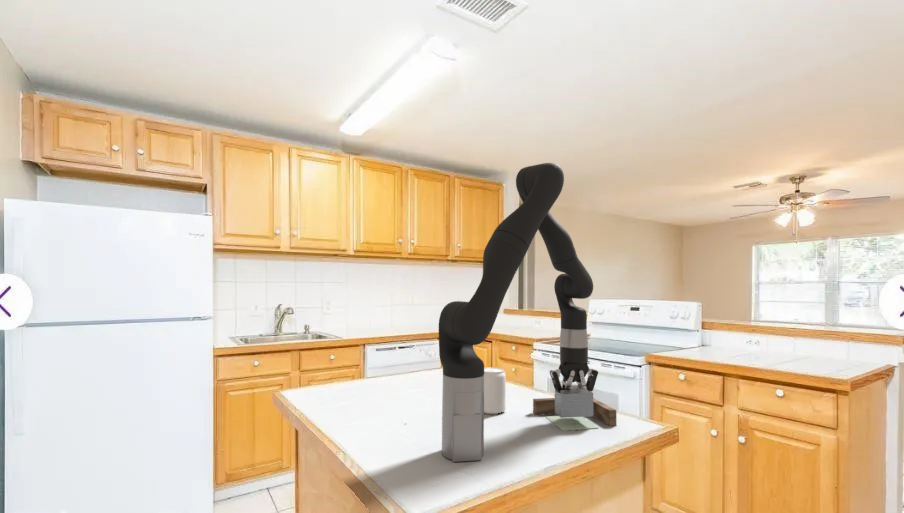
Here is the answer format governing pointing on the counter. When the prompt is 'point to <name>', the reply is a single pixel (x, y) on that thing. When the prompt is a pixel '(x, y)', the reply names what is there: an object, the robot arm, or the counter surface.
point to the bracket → (574, 402)
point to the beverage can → (494, 390)
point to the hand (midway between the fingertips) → (574, 406)
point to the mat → (571, 423)
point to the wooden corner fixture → (599, 410)
